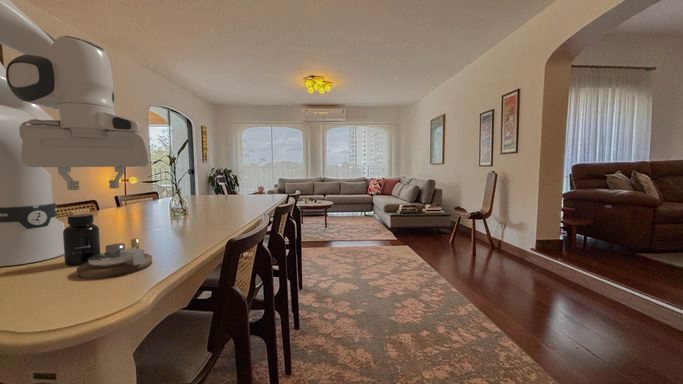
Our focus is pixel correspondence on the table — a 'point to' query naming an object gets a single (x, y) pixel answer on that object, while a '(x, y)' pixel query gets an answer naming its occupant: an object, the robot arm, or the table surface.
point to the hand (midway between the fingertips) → (94, 189)
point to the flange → (117, 256)
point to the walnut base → (113, 267)
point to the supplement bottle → (80, 239)
